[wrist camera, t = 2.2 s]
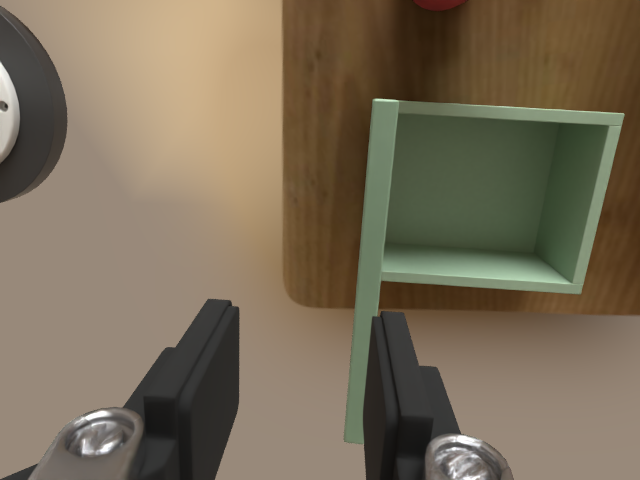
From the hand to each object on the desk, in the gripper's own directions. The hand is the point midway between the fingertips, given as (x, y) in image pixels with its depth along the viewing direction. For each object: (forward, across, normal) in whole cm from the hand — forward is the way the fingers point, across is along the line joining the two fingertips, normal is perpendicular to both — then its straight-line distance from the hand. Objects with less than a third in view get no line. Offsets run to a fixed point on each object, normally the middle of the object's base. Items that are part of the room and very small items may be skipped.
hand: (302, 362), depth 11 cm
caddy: (+29, -11, 0) cm, 31 cm away
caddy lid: (+13, -3, 0) cm, 13 cm away
